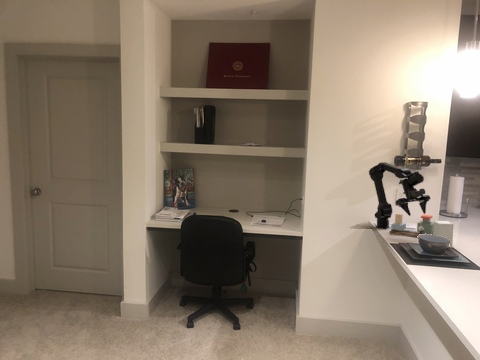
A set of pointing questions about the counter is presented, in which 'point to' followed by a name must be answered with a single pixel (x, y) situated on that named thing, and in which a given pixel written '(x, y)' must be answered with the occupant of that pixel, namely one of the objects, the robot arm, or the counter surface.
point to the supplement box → (444, 229)
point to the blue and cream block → (398, 223)
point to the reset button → (426, 218)
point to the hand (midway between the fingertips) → (417, 214)
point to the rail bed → (406, 232)
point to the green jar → (425, 227)
